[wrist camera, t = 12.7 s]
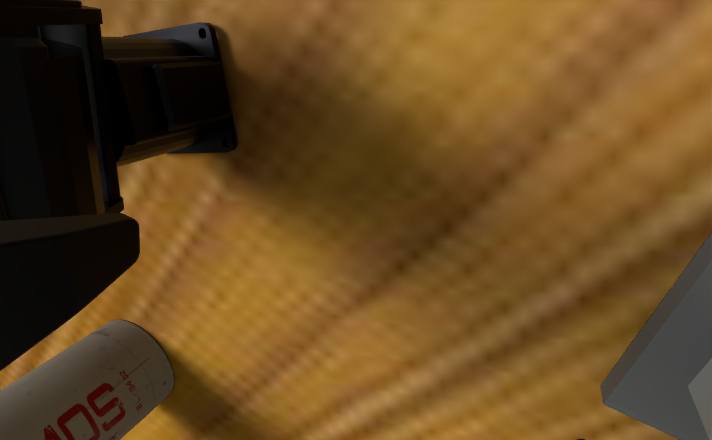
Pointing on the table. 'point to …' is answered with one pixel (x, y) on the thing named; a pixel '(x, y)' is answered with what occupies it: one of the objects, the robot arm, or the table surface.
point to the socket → (671, 359)
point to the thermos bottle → (89, 388)
